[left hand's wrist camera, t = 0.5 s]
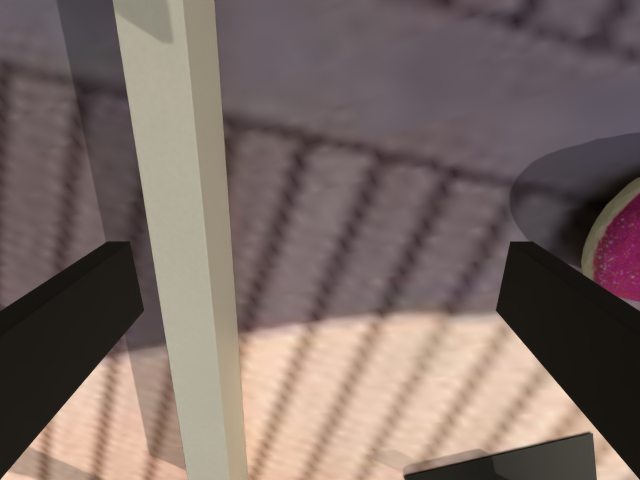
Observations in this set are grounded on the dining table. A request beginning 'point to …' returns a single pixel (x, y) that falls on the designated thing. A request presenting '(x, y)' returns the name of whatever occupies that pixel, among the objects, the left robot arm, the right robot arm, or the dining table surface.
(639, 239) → the shoe
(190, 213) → the post
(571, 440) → the oil diffuser
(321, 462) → the dining table surface
